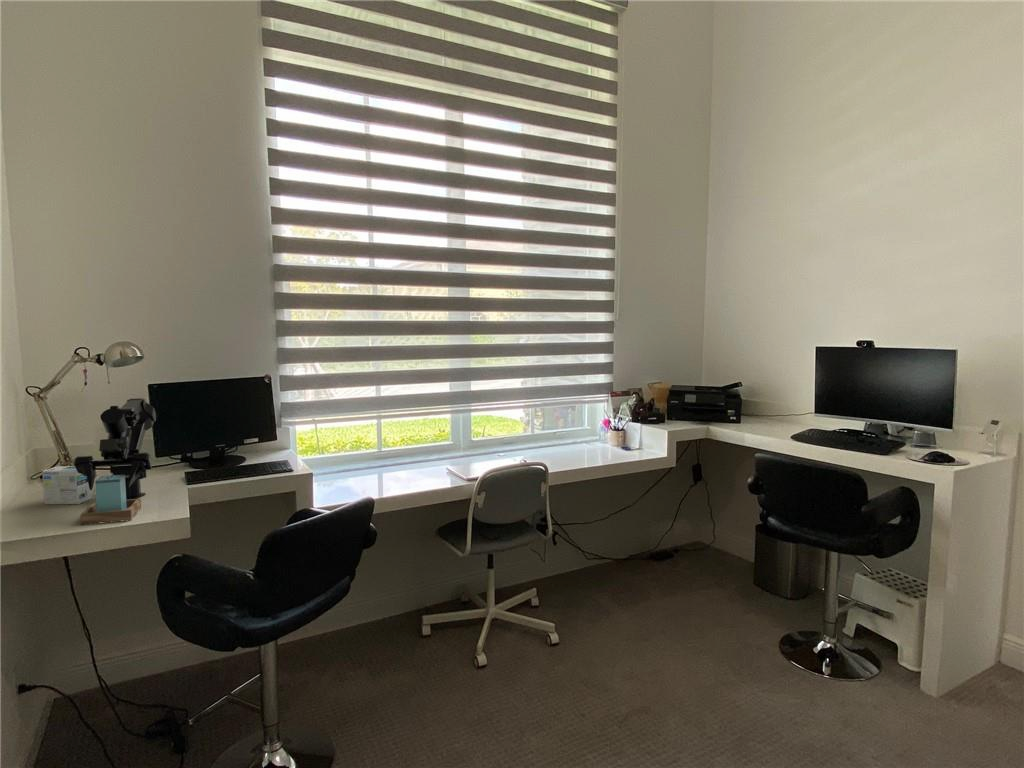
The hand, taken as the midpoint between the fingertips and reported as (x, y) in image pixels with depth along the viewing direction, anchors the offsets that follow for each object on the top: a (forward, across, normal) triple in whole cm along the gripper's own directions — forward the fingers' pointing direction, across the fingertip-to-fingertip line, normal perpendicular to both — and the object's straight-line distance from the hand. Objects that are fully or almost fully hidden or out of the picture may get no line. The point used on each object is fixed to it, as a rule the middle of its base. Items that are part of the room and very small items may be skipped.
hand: (109, 488), depth 169 cm
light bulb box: (-9, -17, +22) cm, 29 cm away
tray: (+5, 0, +7) cm, 9 cm away
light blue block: (+4, 0, +6) cm, 8 cm away
